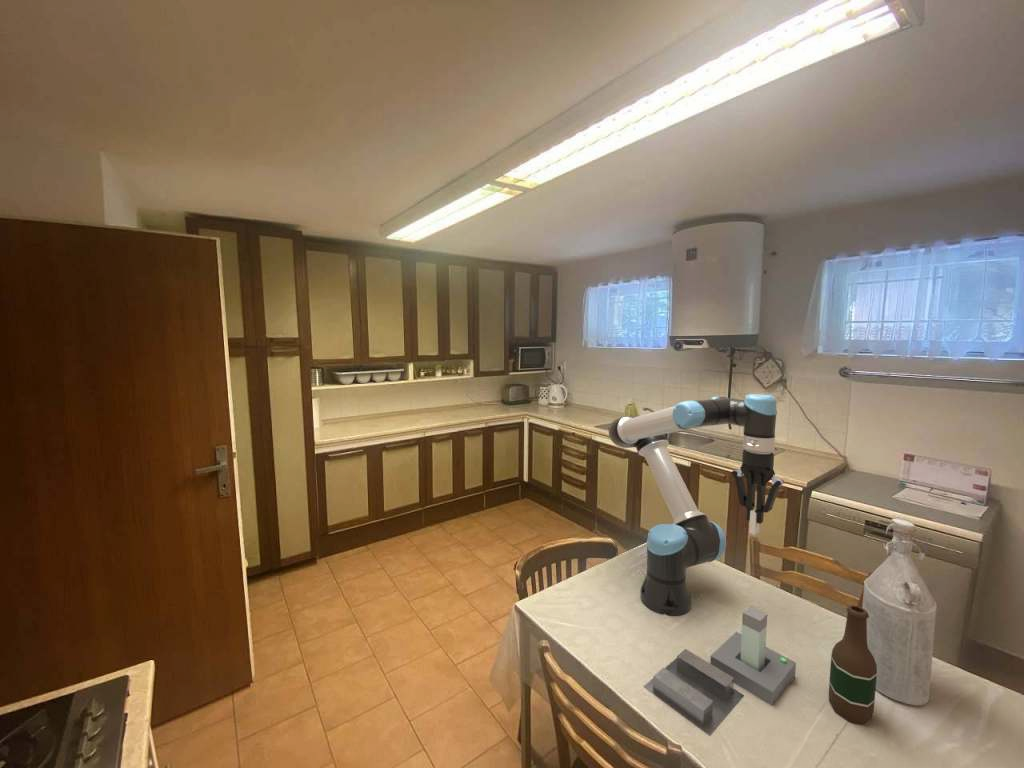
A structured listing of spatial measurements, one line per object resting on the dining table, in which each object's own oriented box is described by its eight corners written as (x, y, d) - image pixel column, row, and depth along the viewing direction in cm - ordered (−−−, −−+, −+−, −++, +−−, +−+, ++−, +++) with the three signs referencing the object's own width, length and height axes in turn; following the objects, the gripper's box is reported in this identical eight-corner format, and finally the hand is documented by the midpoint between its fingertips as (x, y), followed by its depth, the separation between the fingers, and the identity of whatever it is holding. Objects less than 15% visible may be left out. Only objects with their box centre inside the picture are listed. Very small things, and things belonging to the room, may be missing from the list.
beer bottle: (819, 697, 97) (826, 599, 94) (850, 694, 97) (858, 597, 95) (849, 727, 89) (857, 621, 87) (882, 724, 90) (891, 619, 87)
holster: (643, 689, 99) (643, 672, 99) (679, 658, 109) (680, 642, 109) (709, 739, 87) (710, 720, 86) (744, 698, 96) (745, 681, 96)
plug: (739, 673, 104) (742, 612, 102) (746, 665, 106) (749, 606, 105) (757, 683, 101) (760, 620, 99) (764, 675, 103) (767, 614, 102)
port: (710, 670, 105) (710, 653, 104) (735, 645, 113) (736, 629, 113) (771, 708, 94) (772, 689, 93) (794, 677, 102) (796, 660, 102)
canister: (869, 698, 96) (882, 532, 92) (850, 649, 112) (860, 505, 108) (944, 720, 90) (961, 544, 87) (913, 665, 106) (926, 514, 102)
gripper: (727, 448, 118) (724, 528, 121) (778, 458, 108) (774, 545, 110) (740, 444, 123) (736, 521, 125) (790, 453, 113) (785, 537, 115)
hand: (754, 532), depth 118 cm, fingers closed
